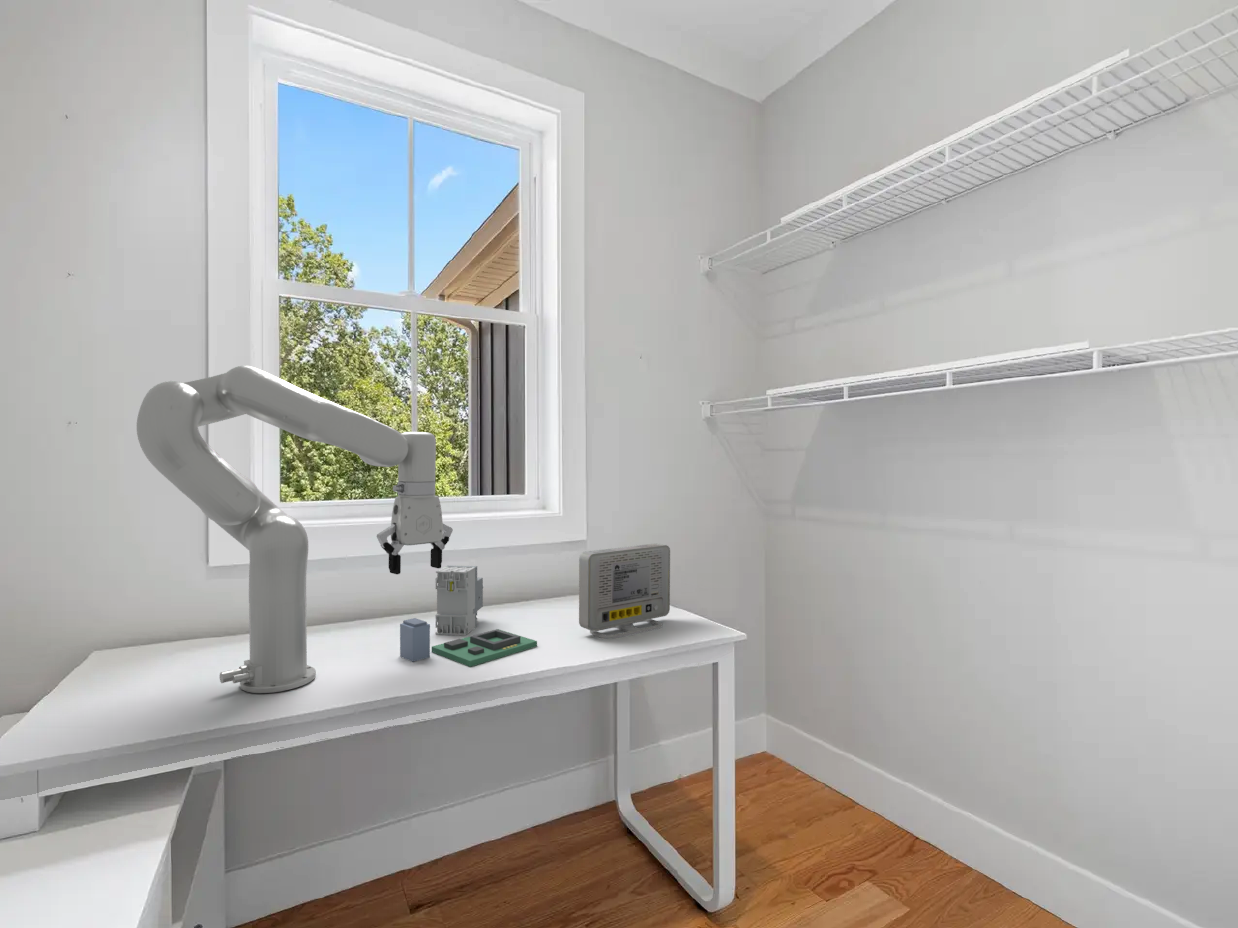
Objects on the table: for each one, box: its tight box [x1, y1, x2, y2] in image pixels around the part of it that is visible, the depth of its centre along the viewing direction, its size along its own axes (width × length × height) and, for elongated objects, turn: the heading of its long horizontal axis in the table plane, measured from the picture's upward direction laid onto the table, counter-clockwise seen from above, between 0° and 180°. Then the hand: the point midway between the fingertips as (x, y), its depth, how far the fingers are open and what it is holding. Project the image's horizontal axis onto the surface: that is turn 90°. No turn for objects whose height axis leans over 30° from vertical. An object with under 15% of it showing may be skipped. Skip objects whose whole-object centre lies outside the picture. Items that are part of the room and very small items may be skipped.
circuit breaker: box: [435, 565, 484, 636], centre depth 157 cm, size 8×14×15 cm, turn 174°
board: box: [431, 628, 538, 668], centre depth 140 cm, size 18×14×3 cm
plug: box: [399, 617, 431, 662], centre depth 134 cm, size 4×5×8 cm
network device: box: [578, 543, 671, 640], centre depth 156 cm, size 26×9×20 cm, turn 128°
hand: (415, 570), depth 135 cm, fingers open, 9 cm apart
